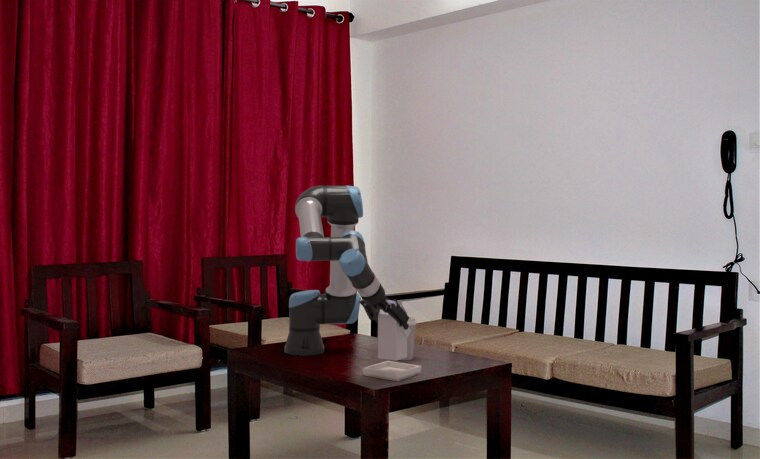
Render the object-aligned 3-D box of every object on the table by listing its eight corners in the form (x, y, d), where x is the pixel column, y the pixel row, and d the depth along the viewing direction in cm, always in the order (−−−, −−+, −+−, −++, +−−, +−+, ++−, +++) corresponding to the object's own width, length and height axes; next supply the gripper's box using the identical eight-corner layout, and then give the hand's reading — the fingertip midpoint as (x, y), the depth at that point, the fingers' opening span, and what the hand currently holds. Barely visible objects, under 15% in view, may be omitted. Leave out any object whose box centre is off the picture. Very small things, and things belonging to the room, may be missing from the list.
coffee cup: (414, 361, 267) (414, 320, 266) (388, 360, 269) (388, 319, 268) (418, 356, 276) (418, 316, 276) (393, 355, 278) (393, 315, 278)
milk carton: (396, 361, 242) (396, 303, 241) (377, 358, 246) (377, 301, 245) (407, 357, 248) (407, 300, 247) (388, 355, 252) (389, 299, 251)
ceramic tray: (362, 375, 246) (362, 367, 246) (387, 367, 257) (387, 360, 257) (397, 381, 238) (397, 373, 238) (421, 373, 249) (421, 365, 249)
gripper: (339, 295, 240) (369, 338, 253) (391, 300, 228) (419, 345, 241) (349, 278, 244) (378, 321, 257) (401, 281, 232) (428, 326, 245)
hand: (398, 332), depth 249 cm, fingers closed on milk carton, 7 cm apart
